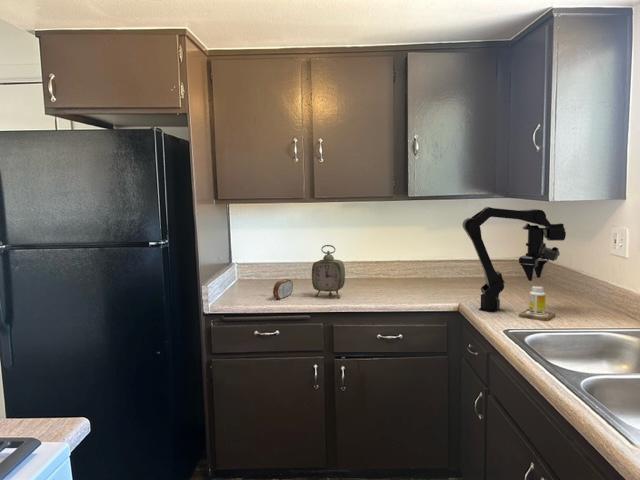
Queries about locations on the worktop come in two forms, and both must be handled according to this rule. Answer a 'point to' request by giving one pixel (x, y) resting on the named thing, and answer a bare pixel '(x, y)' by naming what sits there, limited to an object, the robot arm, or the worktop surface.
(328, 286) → the tabletop clock
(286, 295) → the tin
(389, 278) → the worktop surface
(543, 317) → the walnut board
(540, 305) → the supplement bottle
